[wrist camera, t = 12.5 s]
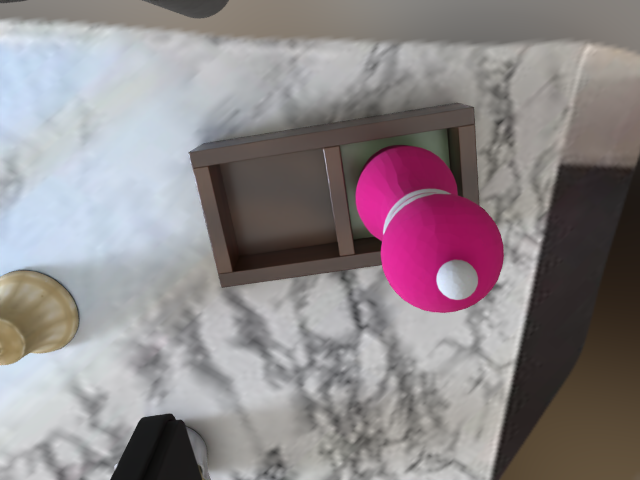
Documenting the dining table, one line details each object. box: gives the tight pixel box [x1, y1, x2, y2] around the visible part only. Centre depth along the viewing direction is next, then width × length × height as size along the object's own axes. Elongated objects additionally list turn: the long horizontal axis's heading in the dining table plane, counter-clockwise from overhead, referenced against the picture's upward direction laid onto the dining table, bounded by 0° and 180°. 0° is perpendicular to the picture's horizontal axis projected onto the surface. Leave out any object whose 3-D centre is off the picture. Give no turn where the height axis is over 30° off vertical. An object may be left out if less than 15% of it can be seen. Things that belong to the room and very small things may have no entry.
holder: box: [189, 103, 479, 288], centre depth 39 cm, size 11×21×4 cm, turn 99°
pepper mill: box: [356, 145, 504, 313], centre depth 31 cm, size 7×7×20 cm
